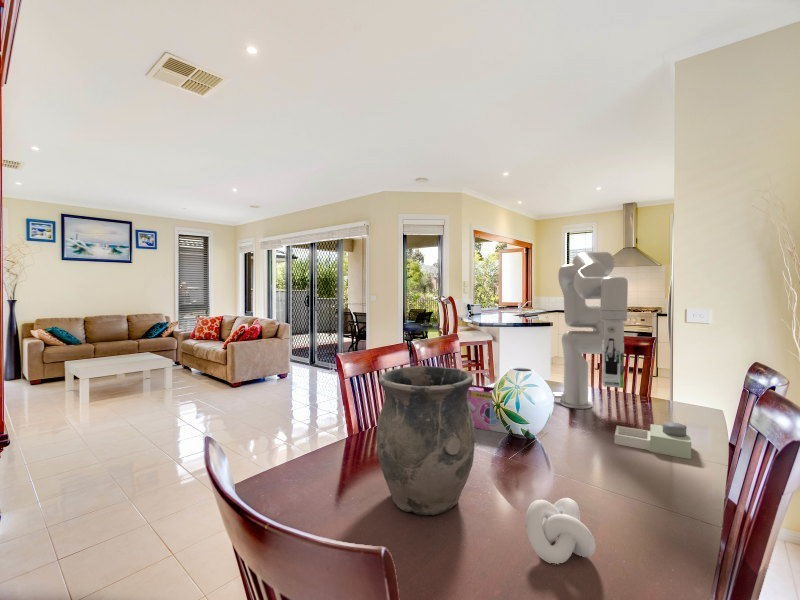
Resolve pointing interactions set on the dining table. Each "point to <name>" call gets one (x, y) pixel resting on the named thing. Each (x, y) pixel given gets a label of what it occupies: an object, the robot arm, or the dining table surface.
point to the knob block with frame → (657, 439)
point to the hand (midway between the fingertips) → (612, 371)
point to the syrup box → (617, 379)
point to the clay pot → (425, 437)
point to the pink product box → (483, 409)
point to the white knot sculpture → (558, 530)
